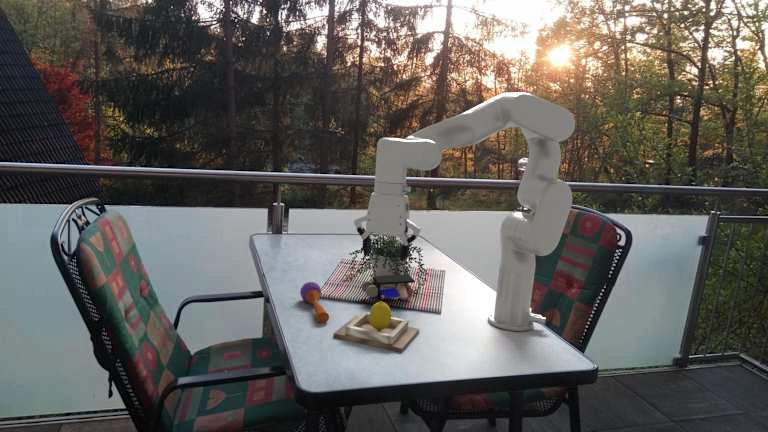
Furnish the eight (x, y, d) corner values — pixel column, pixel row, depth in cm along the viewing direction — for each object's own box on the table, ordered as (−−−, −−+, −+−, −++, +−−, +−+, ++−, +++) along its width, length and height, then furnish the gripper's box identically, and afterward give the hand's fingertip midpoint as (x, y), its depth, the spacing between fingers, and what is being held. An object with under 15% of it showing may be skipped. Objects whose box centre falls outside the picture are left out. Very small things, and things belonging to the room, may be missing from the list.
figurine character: (367, 309, 163) (415, 302, 167) (366, 284, 161) (415, 277, 165) (361, 301, 169) (408, 294, 173) (360, 277, 167) (407, 271, 172)
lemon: (371, 336, 137) (373, 305, 135) (365, 327, 142) (368, 297, 141) (392, 335, 138) (395, 304, 137) (386, 326, 144) (389, 297, 142)
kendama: (310, 310, 143) (297, 281, 162) (313, 330, 145) (300, 299, 164) (332, 305, 145) (317, 276, 163) (335, 325, 147) (320, 295, 165)
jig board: (418, 332, 144) (419, 321, 143) (401, 352, 131) (402, 340, 130) (355, 319, 150) (356, 308, 149) (333, 337, 137) (334, 325, 136)
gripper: (428, 191, 135) (422, 259, 138) (362, 183, 141) (358, 249, 144) (419, 194, 128) (413, 266, 131) (351, 186, 134) (347, 255, 137)
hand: (384, 257), depth 137 cm, fingers open, 9 cm apart
